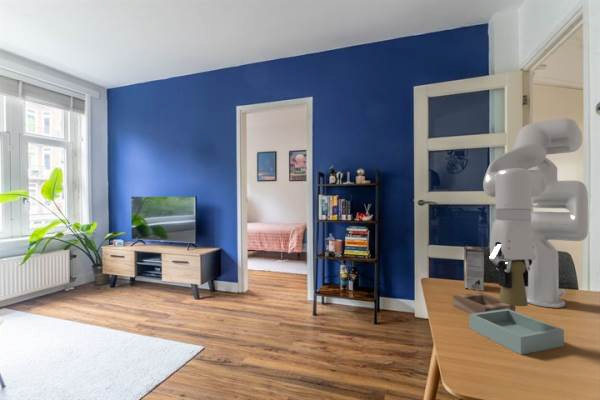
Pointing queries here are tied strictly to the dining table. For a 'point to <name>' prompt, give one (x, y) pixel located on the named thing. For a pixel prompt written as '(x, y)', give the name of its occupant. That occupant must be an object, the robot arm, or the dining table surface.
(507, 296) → the cork
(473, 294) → the socket
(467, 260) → the coffee box
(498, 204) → the robot arm
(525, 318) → the tray
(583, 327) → the dining table surface
